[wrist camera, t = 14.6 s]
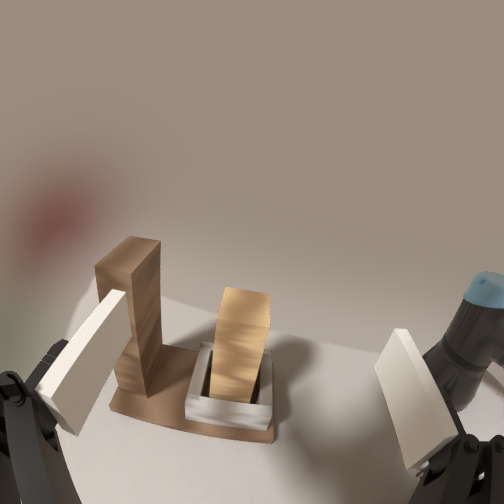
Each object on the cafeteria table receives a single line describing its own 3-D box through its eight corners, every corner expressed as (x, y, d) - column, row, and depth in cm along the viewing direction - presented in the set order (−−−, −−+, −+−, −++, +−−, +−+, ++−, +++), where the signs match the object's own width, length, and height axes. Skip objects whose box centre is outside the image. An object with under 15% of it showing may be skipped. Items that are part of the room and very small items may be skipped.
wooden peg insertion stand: (271, 368, 41) (303, 253, 33) (271, 443, 28) (324, 326, 20) (143, 344, 40) (136, 227, 32) (110, 410, 27) (73, 279, 20)
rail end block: (249, 378, 37) (269, 292, 31) (246, 412, 31) (269, 327, 25) (215, 372, 37) (225, 285, 31) (208, 406, 31) (216, 318, 25)
